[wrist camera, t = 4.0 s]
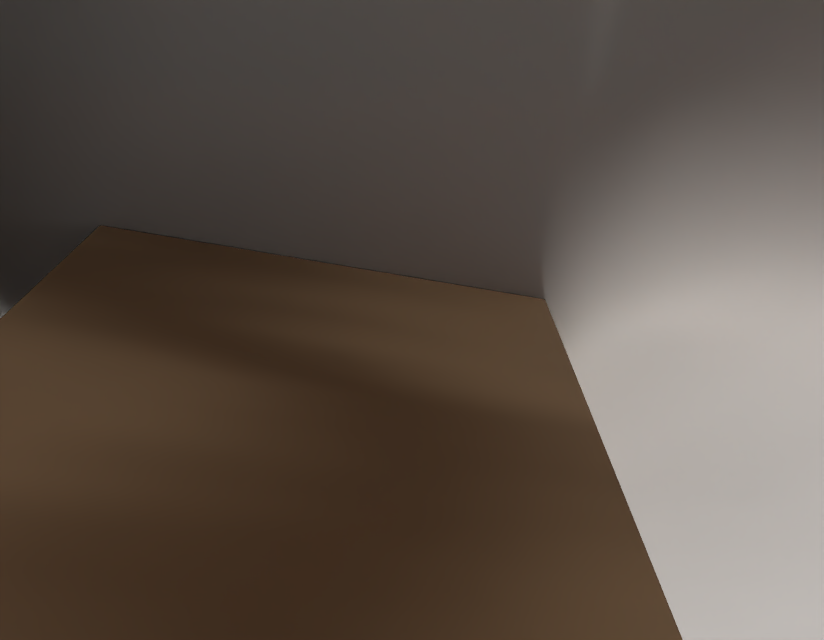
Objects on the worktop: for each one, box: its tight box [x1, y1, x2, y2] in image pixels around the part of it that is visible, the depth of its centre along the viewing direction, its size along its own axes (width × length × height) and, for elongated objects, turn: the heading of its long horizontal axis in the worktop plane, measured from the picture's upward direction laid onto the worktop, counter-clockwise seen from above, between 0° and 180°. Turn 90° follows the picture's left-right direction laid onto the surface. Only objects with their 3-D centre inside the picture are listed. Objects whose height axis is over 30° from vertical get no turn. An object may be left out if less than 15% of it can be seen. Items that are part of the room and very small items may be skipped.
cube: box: [0, 225, 682, 640], centre depth 7 cm, size 6×6×6 cm
